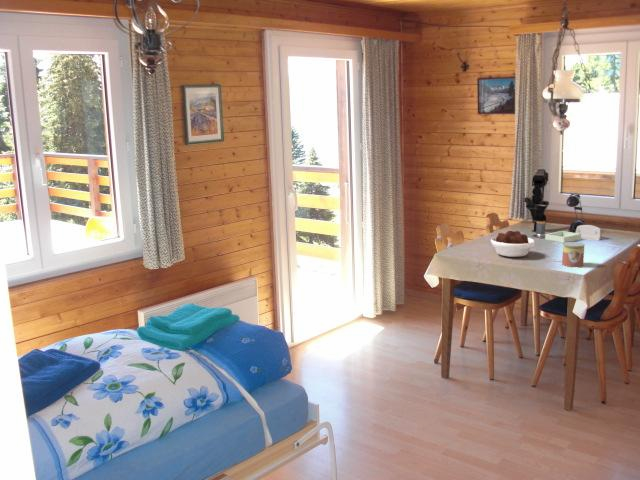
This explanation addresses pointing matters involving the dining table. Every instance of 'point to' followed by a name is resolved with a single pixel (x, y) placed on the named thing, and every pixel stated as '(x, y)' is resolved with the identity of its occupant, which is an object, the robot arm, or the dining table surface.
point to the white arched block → (589, 232)
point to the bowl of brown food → (512, 244)
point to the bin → (563, 237)
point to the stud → (539, 236)
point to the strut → (540, 227)
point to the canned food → (573, 254)
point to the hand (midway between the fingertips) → (536, 217)
